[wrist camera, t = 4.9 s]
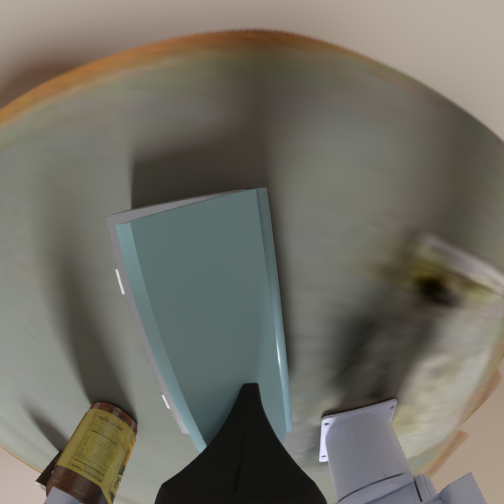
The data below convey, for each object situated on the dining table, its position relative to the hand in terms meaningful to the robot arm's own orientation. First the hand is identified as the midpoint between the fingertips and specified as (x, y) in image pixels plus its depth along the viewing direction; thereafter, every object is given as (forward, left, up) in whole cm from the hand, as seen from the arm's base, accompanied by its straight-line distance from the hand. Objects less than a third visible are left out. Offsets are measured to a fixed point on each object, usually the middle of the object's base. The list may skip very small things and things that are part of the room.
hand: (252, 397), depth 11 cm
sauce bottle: (-12, +17, -8) cm, 22 cm away
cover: (0, 0, -1) cm, 1 cm away
